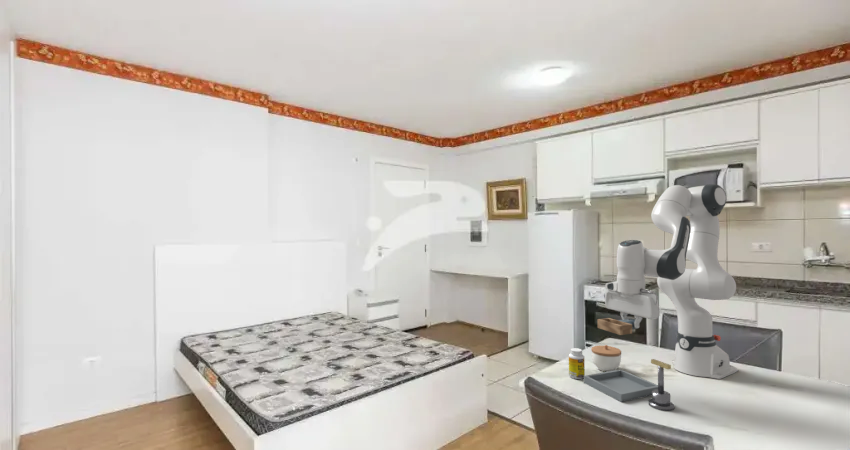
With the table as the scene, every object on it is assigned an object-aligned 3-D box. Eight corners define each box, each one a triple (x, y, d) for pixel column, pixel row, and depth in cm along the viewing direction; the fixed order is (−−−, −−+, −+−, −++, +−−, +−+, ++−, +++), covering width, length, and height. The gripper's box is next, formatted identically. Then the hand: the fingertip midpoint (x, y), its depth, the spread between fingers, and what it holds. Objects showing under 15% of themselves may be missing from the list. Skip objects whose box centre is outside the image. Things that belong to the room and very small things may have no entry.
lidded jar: (623, 367, 161) (622, 343, 161) (619, 376, 152) (619, 351, 152) (594, 362, 167) (594, 339, 167) (589, 371, 158) (588, 346, 158)
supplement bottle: (578, 380, 148) (578, 352, 148) (565, 376, 153) (565, 349, 153) (587, 377, 151) (587, 350, 151) (575, 373, 156) (574, 346, 156)
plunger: (643, 402, 130) (642, 360, 130) (659, 399, 132) (659, 357, 132) (662, 412, 123) (662, 367, 123) (679, 408, 126) (679, 364, 125)
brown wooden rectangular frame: (646, 331, 138) (646, 322, 138) (620, 335, 134) (620, 325, 134) (623, 324, 147) (623, 316, 147) (597, 327, 143) (597, 319, 143)
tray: (620, 375, 152) (620, 369, 152) (660, 393, 136) (660, 386, 136) (583, 382, 147) (583, 375, 146) (621, 402, 131) (621, 394, 131)
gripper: (664, 290, 133) (664, 332, 133) (615, 282, 152) (615, 319, 153) (649, 292, 131) (650, 335, 131) (601, 283, 150) (602, 321, 150)
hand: (631, 326), depth 142 cm, fingers closed on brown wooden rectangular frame, 2 cm apart
